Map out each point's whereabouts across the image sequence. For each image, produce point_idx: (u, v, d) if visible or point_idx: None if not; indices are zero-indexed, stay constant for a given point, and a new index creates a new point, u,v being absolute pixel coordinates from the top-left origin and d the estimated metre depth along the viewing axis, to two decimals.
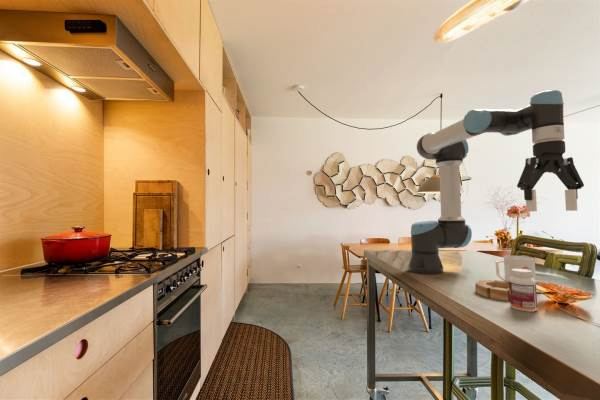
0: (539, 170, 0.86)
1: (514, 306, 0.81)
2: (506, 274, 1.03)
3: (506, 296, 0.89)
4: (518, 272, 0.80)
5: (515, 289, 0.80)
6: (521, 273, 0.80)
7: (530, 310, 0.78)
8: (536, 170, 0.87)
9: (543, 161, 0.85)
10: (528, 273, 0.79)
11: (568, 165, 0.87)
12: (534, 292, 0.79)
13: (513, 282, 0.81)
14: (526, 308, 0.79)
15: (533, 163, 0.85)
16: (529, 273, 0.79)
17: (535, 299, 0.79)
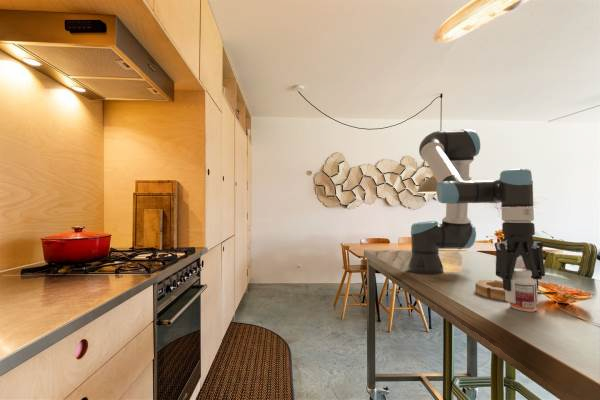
0: (511, 255, 0.81)
1: (514, 306, 0.81)
2: None
3: None
4: (518, 272, 0.80)
5: (515, 289, 0.80)
6: (521, 273, 0.80)
7: (530, 310, 0.78)
8: (508, 254, 0.83)
9: (512, 243, 0.81)
10: (528, 273, 0.79)
11: (536, 249, 0.82)
12: (534, 292, 0.79)
13: None
14: (525, 307, 0.79)
15: (503, 250, 0.81)
16: (529, 273, 0.79)
17: (535, 299, 0.79)
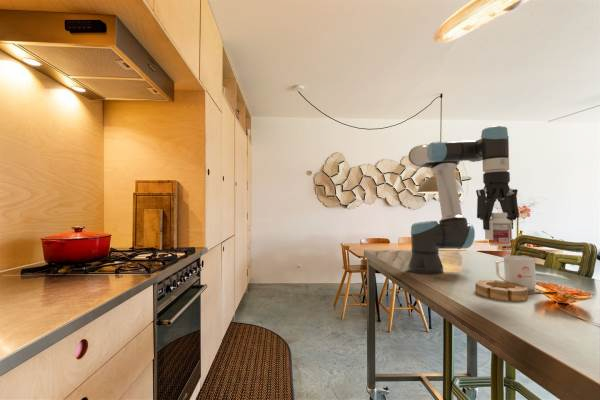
0: (490, 200, 0.95)
1: (492, 243, 0.95)
2: (506, 274, 1.03)
3: (506, 296, 0.89)
4: (495, 213, 0.94)
5: (493, 228, 0.94)
6: (498, 214, 0.94)
7: (505, 244, 0.92)
8: (488, 199, 0.97)
9: (491, 189, 0.95)
10: (504, 214, 0.93)
11: (511, 195, 0.96)
12: (508, 229, 0.93)
13: None
14: (501, 242, 0.93)
15: (483, 195, 0.95)
16: (504, 214, 0.93)
17: (510, 235, 0.93)
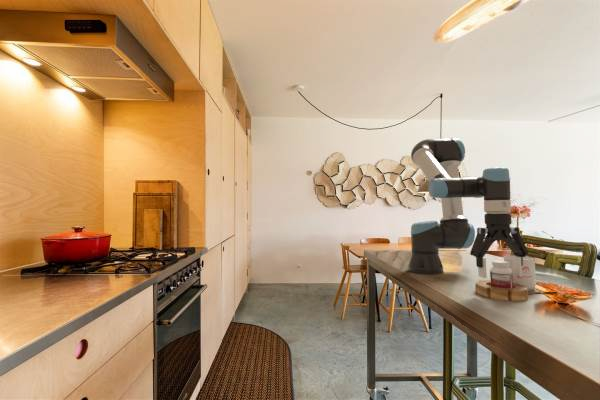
0: (489, 239, 0.95)
1: None
2: None
3: (506, 296, 0.89)
4: (497, 263, 0.94)
5: (494, 278, 0.94)
6: (499, 264, 0.93)
7: None
8: (487, 238, 0.96)
9: (492, 231, 0.95)
10: (505, 264, 0.93)
11: (515, 234, 0.96)
12: (510, 280, 0.92)
13: (493, 272, 0.94)
14: None
15: (482, 234, 0.94)
16: (506, 264, 0.93)
17: (512, 286, 0.92)
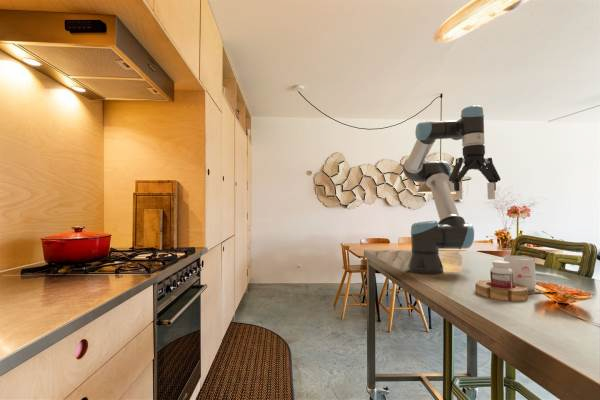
0: (465, 167, 1.10)
1: None
2: None
3: (506, 296, 0.89)
4: (497, 263, 0.94)
5: (495, 278, 0.94)
6: (500, 264, 0.93)
7: None
8: (463, 167, 1.11)
9: (468, 160, 1.10)
10: (506, 264, 0.93)
11: (488, 164, 1.11)
12: (511, 280, 0.92)
13: (493, 272, 0.94)
14: None
15: (460, 162, 1.09)
16: (507, 264, 0.93)
17: (512, 286, 0.92)
